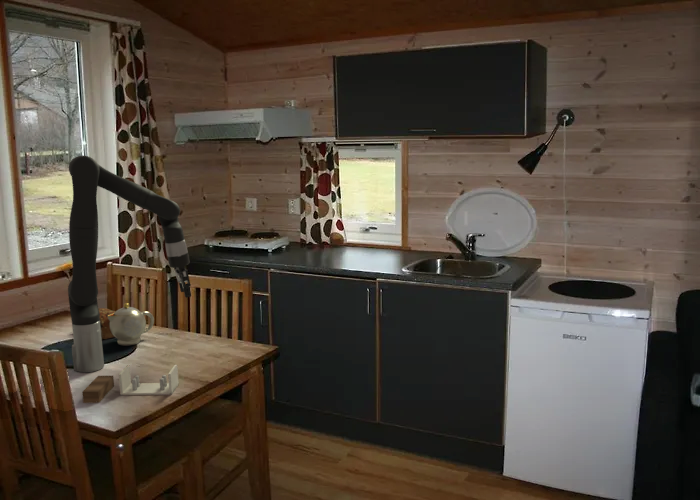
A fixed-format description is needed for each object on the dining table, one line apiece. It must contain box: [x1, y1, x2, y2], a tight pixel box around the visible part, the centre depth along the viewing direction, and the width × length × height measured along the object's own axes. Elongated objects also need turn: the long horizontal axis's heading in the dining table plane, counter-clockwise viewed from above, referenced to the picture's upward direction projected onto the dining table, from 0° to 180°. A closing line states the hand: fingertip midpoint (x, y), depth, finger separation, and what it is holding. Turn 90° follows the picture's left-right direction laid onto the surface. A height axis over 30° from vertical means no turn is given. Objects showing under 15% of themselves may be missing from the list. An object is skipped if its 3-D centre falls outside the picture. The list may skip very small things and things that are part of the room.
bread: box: [98, 307, 116, 340], centre depth 267 cm, size 19×11×10 cm, turn 44°
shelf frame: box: [118, 364, 180, 396], centre depth 208 cm, size 17×8×7 cm, turn 90°
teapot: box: [108, 302, 155, 347], centre depth 254 cm, size 18×14×16 cm
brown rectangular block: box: [82, 375, 115, 404], centre depth 205 cm, size 13×5×4 cm, turn 0°
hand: (186, 294), depth 240 cm, fingers open, 8 cm apart
